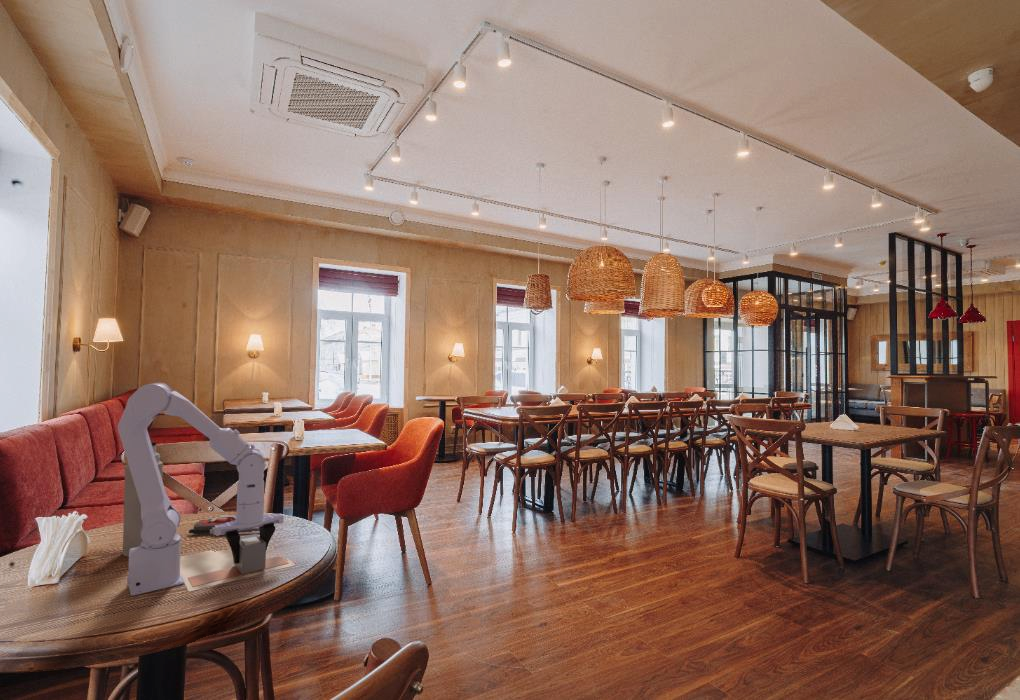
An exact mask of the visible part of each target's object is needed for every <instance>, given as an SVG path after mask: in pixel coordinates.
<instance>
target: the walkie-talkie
mask: <svg viewBox="0 0 1020 700" xmlns="http://www.w3.org/2000/svg"><path fill="white" fill-rule="evenodd" d="M235 520H237V514H230V515H229V514H224V515H223V514H222V515H220V516H218V517H217V518H213V516H210V517H209V518H207V519H200V520H199V521H198V522H196V523H195V524H193V528H192V529H189V530H188V533H189V534H193V535H194V534H208V535H212V534H213V535H212V536H215V525H220V524H224V523H227V522H231V521H235ZM253 532H259V527H256V528H251V529H246V530H240V531H238V533H253ZM222 535H224V534H222Z"/></svg>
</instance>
